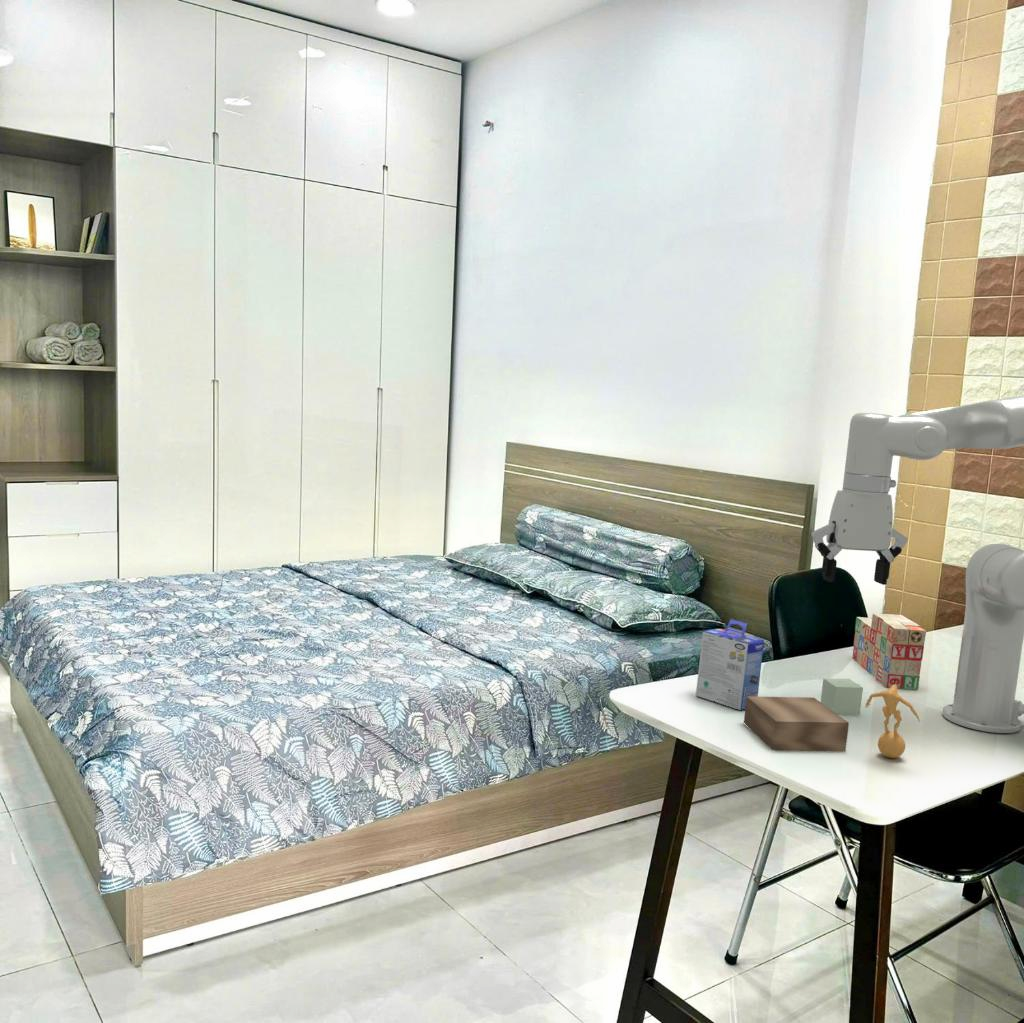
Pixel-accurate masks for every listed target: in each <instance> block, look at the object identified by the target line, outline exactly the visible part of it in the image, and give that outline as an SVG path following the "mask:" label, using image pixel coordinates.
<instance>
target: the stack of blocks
mask: <svg viewBox="0 0 1024 1023" xmlns="http://www.w3.org/2000/svg"><path fill="white" fill-rule="evenodd" d="M854 632H855V633H854V638H853V648H852V649H853V650H852V659H853V660H854V661H856V663H857V664H859V665H860V667H861V668H863V669H864V670H865V671H866V672H868V673H869V674H870V675H871V676H872V677H873V678H874V679H876V681H878V683H880V684H881V686H883V687H884V688H886V689H889V688H890V687H891V686H892V685H896V686H897V689H898V690H905V691H907V690H908V691H909V690H910V691H918V690H919V685H920V684H919V683H920V679H921V677H920V675H921V668H922V662H923V656H924V650H925V641H926V634H927V630H926V629H924V628H923V627H921V626H920V625H919V624H918V623H916V622H915V621H913V620H911V619H909V618H908V617H907V616H906V617H905V616H904V615H903V614H893V613H890V614H889V613H877V612H876V613H875V612H873V613H872V617H863V616H862V617H861V616H856V618H855V627H854Z"/></svg>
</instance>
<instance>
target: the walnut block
mask: <svg viewBox="0 0 1024 1023" xmlns="http://www.w3.org/2000/svg"><path fill="white" fill-rule="evenodd" d="M743 715H744V717H743V724H744V723H745V724H746V725H747V726H748V727H749V728H750V729H751V730H750V729H749V728H748V727H747V726H746V725H745V724H744V725H745V726H746V727H747V728H748V729H749V730H750V731H752V733H754V734H755V735H756V736H757V737H758V738H759V739H760V740H761V741H762V742H764V743H765V744H766V745H767V746H768V747H769V748H770V749H771V750H772V751H776V752H777V751H784V752H785V751H789V752H791V751H794V752H796V751H797V752H798V751H799V752H803V751H805V752H846V751H847V742H848V733H849V724H850V723H849V721H847V720H846V719H845V718H843V717H842V716H840V714H836V713H835V712H833V711H832V710H831V709H829V708H828V707H827V706H825V705H824V704H822V703H821V700H818V699H817V698H815V697H806V696H805V697H804V696H803V697H800V696H799V697H798V696H795V697H794V696H759V695H758V696H746V706H745V709H744V714H743Z"/></svg>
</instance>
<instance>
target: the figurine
mask: <svg viewBox="0 0 1024 1023" xmlns="http://www.w3.org/2000/svg"><path fill="white" fill-rule="evenodd" d="M898 690H899V689H897V686H896V685H892V686H891V687H890V688H887V690H885V691H884V690H883V691H880V692H875V693H871V694H870V695H869V698H868V699H867V700H866V703H865V706H864V707H865V709H867V708H869V706H871V704H870V703H871V701H872V700H873V698H879V697H881V698H882V699H883V700H884V703H885V705H884V706H882V712H883V716H884V718H885V720H884V721H883V724H884V731H885V732H884V733H882V734H881V735H880V736H879V738H878V741H877V748H878V751H879V752H880V753H881V754H882V755H883V756H884V757H886V758H887V759H896V758H899V757H901V756H902V755H903V754H904V752H905V749H906V742H905V740H904V738H903V737H902V736H901V735H900V733H898V729H899V727H900V724H901V722H902V721H903V719H902V717H901V710H900V709H897V706H898V704H899V703H902V704H903V705H905V706H907V707H908V708H909V709H910V711H911V713H912V714H913V715H914V716H915V717H916V719H917V721H918V723H920V717H919V715H918V713H917V711H916V710H915V709H914V707H913V706H912V704H911V703H910V702H908V701H907V700H906V699H904V698H903V697H902V696H901V695H900V694H899V693H898ZM892 715H893V718H894V719H895V720H896V722H895V723H894V725H893V731H890V730H889V727H888V725H889V723H890V722H889V721H890V717H891V716H892Z"/></svg>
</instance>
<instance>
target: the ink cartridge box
mask: <svg viewBox="0 0 1024 1023" xmlns="http://www.w3.org/2000/svg"><path fill="white" fill-rule="evenodd" d="M734 625H736V626H737V625H738V626H740V627H741V628H742V629H738V628H734V627H732V626H734ZM748 625H749V624H748V623H747V622H743V621H739V620H735V619H732V618H730V620H729V622H728V624H727V625H726V628H725V629H722V628H714V629H708V630H707V629H706V630H704V631H702V635H701V636H702V638H701V645H700V646H701V647H700V652H699V653H700V655H699V665H698V670H697V671H698V673H697V680H696V688H695V696H696V697H699V698H702V699H705V700H707V701H711V702H714V701H715V702H714V703H716V704H720V705H723V704H724V705H723V706H725V705H726V706H725V707H728V706H729V707H728V708H731V707H732V709H735V710H737V709H738V710H737V711H744V710H745V706H746V696H759V689H760V688H759V687H760V679H761V670H762V663H763V662H762V660H763V653H764V645H765V644H764V643H765V640H764V639H763V638H758V637H756V636H755V637H754V636H749V635H746V634H745V633H746V630H747V627H748Z"/></svg>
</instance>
